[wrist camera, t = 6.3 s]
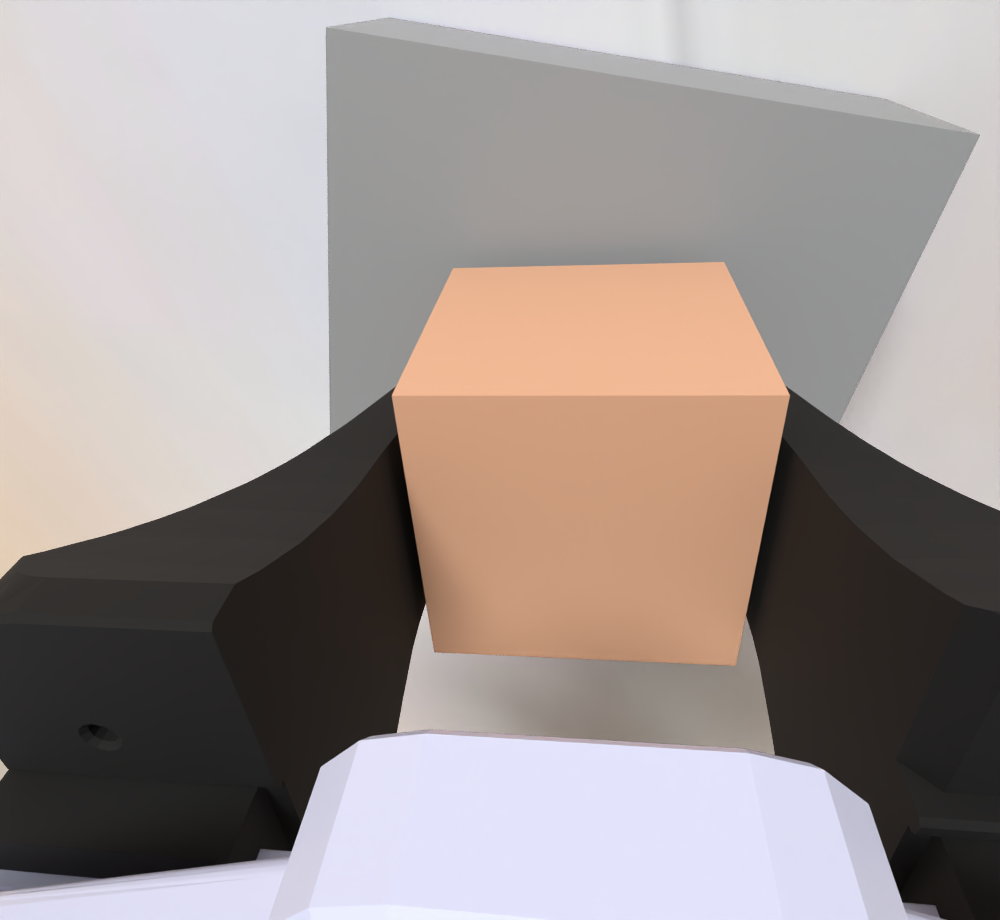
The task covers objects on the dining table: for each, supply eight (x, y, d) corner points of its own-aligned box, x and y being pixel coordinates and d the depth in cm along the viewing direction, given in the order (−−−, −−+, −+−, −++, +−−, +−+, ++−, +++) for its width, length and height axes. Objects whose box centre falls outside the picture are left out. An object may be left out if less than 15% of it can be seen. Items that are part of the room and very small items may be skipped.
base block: (885, 99, 14) (979, 135, 10) (724, 494, 19) (752, 597, 16) (388, 17, 14) (326, 27, 10) (374, 434, 19) (331, 525, 16)
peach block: (724, 261, 11) (790, 395, 8) (696, 484, 14) (735, 665, 10) (453, 268, 12) (392, 395, 8) (474, 481, 14) (434, 651, 11)
